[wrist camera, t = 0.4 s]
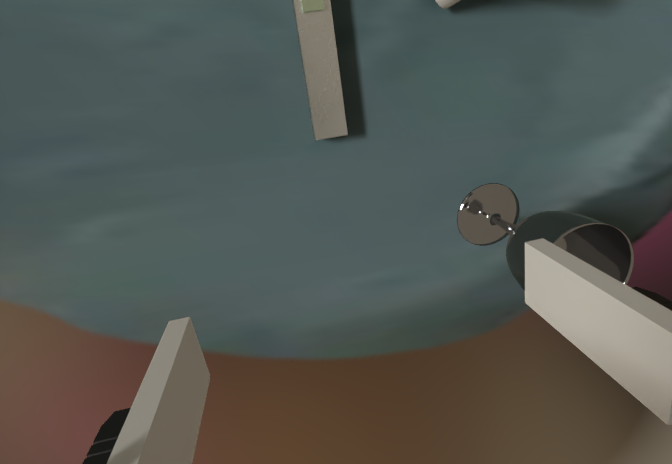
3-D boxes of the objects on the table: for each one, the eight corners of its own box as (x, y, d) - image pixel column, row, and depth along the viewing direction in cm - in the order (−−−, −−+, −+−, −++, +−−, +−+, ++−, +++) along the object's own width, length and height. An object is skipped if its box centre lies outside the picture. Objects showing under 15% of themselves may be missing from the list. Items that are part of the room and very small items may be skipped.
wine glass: (536, 199, 45) (654, 249, 31) (495, 259, 47) (590, 333, 33) (479, 166, 43) (580, 205, 29) (439, 231, 45) (516, 297, 31)
